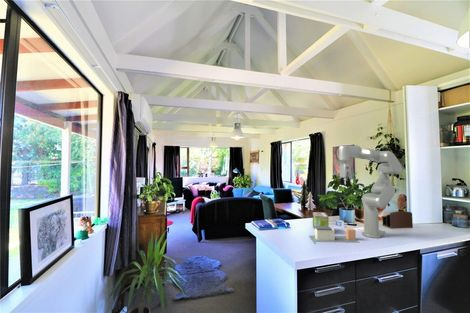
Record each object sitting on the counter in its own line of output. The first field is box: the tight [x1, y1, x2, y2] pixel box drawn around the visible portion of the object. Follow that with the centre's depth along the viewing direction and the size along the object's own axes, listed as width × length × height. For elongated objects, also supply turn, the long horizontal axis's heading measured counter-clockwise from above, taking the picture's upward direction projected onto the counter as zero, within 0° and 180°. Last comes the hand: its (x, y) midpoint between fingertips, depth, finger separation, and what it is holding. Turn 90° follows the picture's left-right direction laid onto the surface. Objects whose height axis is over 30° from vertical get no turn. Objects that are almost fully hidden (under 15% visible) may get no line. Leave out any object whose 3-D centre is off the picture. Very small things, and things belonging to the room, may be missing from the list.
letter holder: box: [382, 210, 414, 230], centre depth 196 cm, size 10×20×14 cm, turn 95°
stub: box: [345, 227, 357, 240], centre depth 161 cm, size 5×4×7 cm
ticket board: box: [308, 226, 360, 245], centre depth 162 cm, size 30×14×9 cm, turn 87°
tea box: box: [312, 211, 330, 233], centre depth 181 cm, size 15×10×15 cm, turn 168°
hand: (345, 185), depth 167 cm, fingers open, 9 cm apart
